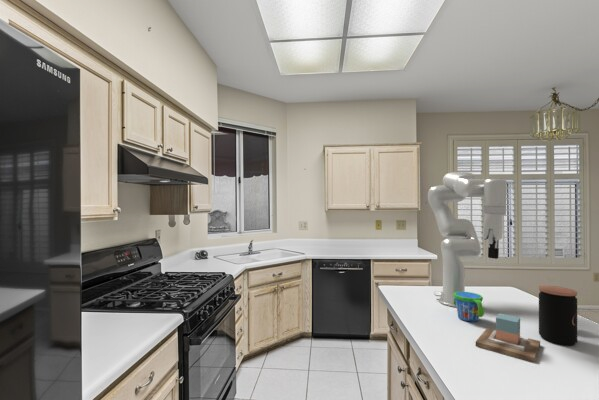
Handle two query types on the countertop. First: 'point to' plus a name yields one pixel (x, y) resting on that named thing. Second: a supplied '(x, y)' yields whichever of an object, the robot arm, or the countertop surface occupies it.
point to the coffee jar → (558, 315)
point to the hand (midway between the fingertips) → (493, 257)
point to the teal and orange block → (508, 328)
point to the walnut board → (509, 346)
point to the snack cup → (468, 306)
